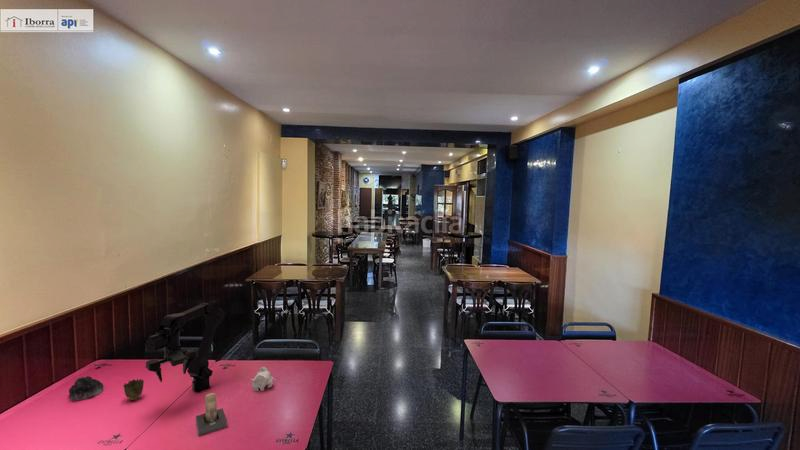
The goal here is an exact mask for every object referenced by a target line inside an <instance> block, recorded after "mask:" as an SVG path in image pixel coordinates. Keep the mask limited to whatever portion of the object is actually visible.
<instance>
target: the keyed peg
mask: <svg viewBox="0 0 800 450" xmlns="http://www.w3.org/2000/svg"><path fill="white" fill-rule="evenodd" d="M204 399H205V400H204V401H205V402H204V403H205V404H204V405H205V407H204V408H205V413H206V423H208V422H209V423H213V422H215V420H217V410H218V409H217V393H214V392H212V393H207V394H206V395H205V398H204Z"/></svg>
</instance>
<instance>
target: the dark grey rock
mask: <svg viewBox="0 0 800 450" xmlns="http://www.w3.org/2000/svg"><path fill="white" fill-rule="evenodd" d="M104 390H105V389H104V384H103V383H102V382H101V380H98V379H96V378H92V376H89V375H87V376H85V377H84V376H81V377H78V378H77V379H76V380H75V382H74V383H73V384H72V385H71V386H70V388H69V389H68V393H69V395H68V396H69V397H68V398H69V399H70V401H81V400H87V399H89V398H92V397H96V396H98V395H100V394H102V392H103V391H104Z"/></svg>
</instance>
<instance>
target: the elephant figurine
mask: <svg viewBox="0 0 800 450" xmlns="http://www.w3.org/2000/svg"><path fill="white" fill-rule="evenodd" d="M274 380H275V381H276V378H274V377H273V376H272V375H271V372H270V371H269V370H268V368H267V367H265V366H261V367H260V368H259V369H258V371H257V374H256V375H255V376H254V378H250V381H252V384H251V385H252V390H253V391H254V392H256V391H257V392H264V390H265V387H266V386H267V388H271V387H272V385H275V384H274Z"/></svg>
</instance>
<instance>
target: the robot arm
mask: <svg viewBox="0 0 800 450" xmlns="http://www.w3.org/2000/svg"><path fill="white" fill-rule="evenodd" d="M201 315H204V316H205V321H204V322H205V325H206V326H205V329H204V332H203V334H202V335H203V336H202V338H201V341H200V345H199V347H198V350H195V349H194V348H188V349H184V350H182V347H181V343H180V342H181V341H180V333H181V332H184V330H185V329H184V328H182V327H184V326H185V324H186V322H188V321H190V320H192V319H195V318H197V317H199V316H201ZM225 316H226V312H225V310H224V309H222V308H219V307H216V306H215V305H212V304H211V303H207V302H201V303H199V304H198V305H196V306H194V307H192V308H189V309H187V310H185V311H182V312H178V313H172V314H166V315H164V316H163V317H162V320H161V321H160V323H159V325H158V327H157V328H156V331H155V334H153V335H150V336H148V339H147V340H145V343H144V348H145V351H146V352H147V353H149V354H152V353H155V352H157V351H160V350H162V349H164V355H163V359H158V358H153V359H150V360H147V361H146V363H145V368H146V369H147V370H148V371H149V372H152V373H153V372H154V373H155V374H156V376H157V378H158V380H159V381H160V383H162V382H163V375H162V367H161V365H164V364H168V363H170V364H171V366H172V367H177V366H178V365H182V373H183V375H186V373H187V375H189V376H190V378H192V382H191V384H192V385H191V389H192V391H194V392H195V393H196V394H199V393H201V392H204V391H206V390H209V389H211V388H212V386H211V385H210V378H211V376H213V373H214V372H213V370H212V369H210V368H209V364H210V361H209V358H208V357H209V353H210V351H211V347H212V346H213V342H214V338H215V335H216V332H217V329H218V327H219V326H220V325H221V324H222V323H223V321H224V319H225Z"/></svg>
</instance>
